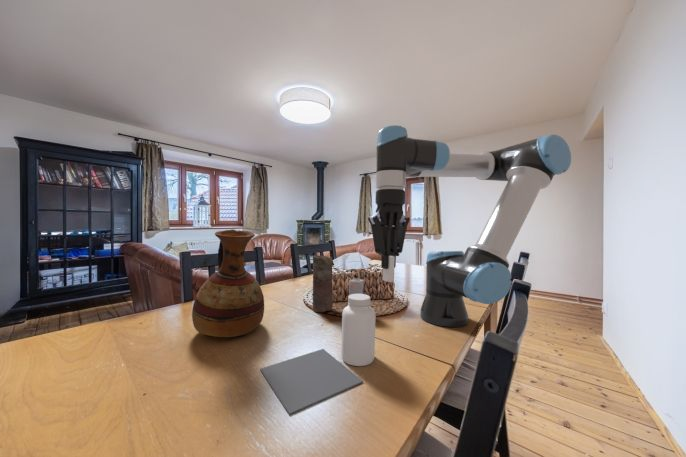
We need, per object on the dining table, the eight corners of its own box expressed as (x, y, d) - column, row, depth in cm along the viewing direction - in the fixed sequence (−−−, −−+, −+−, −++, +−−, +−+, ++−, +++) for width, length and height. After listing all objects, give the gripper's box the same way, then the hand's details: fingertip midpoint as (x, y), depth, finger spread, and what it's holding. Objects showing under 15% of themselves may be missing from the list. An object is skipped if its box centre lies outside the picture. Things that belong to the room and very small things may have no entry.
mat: (323, 349, 66) (323, 348, 66) (362, 382, 53) (362, 381, 53) (260, 369, 57) (260, 368, 57) (289, 415, 44) (289, 413, 44)
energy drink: (365, 312, 94) (365, 279, 94) (361, 317, 89) (362, 282, 89) (351, 310, 96) (351, 277, 96) (346, 315, 91) (347, 280, 91)
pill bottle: (373, 369, 58) (374, 302, 57) (338, 365, 60) (338, 300, 59) (376, 351, 66) (377, 292, 65) (344, 348, 67) (345, 290, 67)
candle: (312, 306, 100) (313, 254, 99) (332, 306, 100) (332, 254, 100) (312, 313, 92) (312, 257, 91) (332, 313, 93) (333, 257, 92)
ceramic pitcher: (202, 353, 64) (201, 231, 63) (185, 327, 79) (184, 228, 78) (275, 331, 77) (276, 230, 76) (249, 312, 92) (249, 228, 91)
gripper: (397, 192, 74) (395, 275, 74) (361, 188, 66) (359, 280, 67) (418, 190, 68) (416, 280, 68) (381, 185, 60) (379, 287, 61)
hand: (388, 280), depth 68 cm, fingers closed
